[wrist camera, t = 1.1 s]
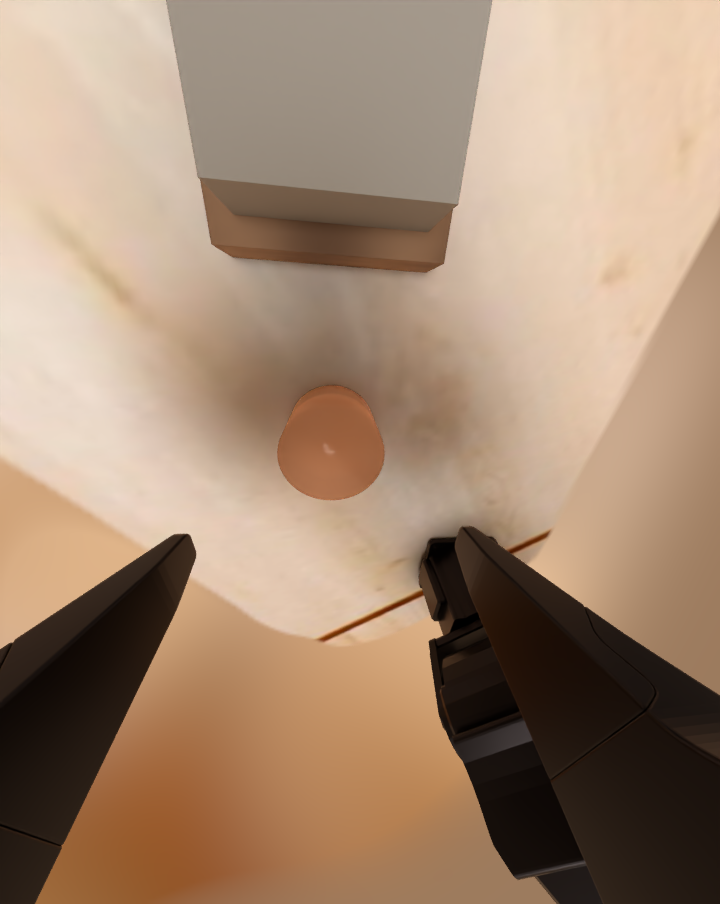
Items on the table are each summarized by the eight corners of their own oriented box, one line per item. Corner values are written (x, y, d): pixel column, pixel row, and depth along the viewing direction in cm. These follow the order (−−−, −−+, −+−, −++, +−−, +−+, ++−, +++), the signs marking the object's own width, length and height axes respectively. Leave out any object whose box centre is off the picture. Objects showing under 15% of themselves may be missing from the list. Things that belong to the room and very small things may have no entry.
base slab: (467, -48, 9) (518, -190, 7) (423, 274, 14) (443, 263, 11) (184, -110, 8) (116, -303, 6) (236, 259, 13) (211, 244, 10)
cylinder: (376, 386, 16) (389, 408, 12) (370, 461, 19) (379, 499, 15) (287, 383, 16) (271, 405, 12) (293, 461, 18) (282, 500, 14)
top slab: (475, -129, 7) (557, -390, 5) (427, 232, 11) (458, 204, 8) (174, -205, 6) (62, -576, 4) (233, 214, 10) (198, 177, 7)
